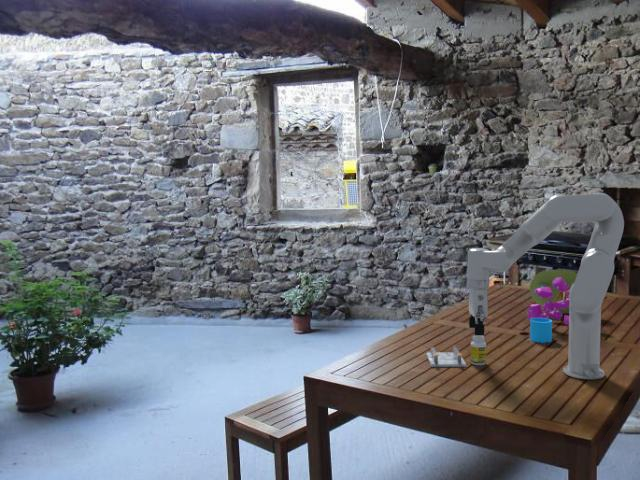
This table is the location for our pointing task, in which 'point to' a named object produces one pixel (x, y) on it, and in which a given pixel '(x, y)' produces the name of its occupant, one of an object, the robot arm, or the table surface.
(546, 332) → the mug
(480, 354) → the supplement bottle
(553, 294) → the tree
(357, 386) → the table surface
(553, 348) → the table surface
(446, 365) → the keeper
